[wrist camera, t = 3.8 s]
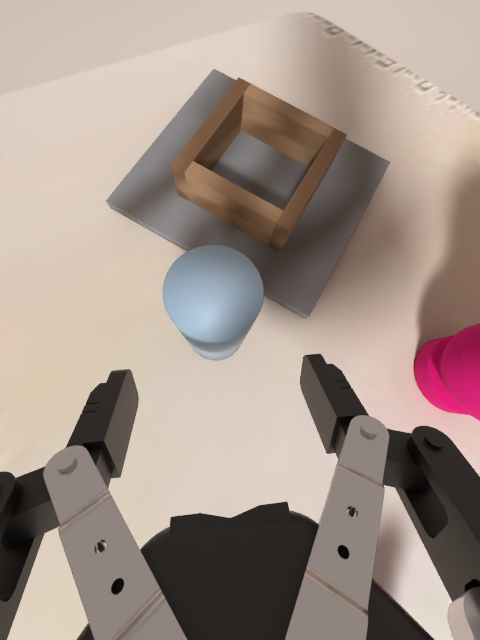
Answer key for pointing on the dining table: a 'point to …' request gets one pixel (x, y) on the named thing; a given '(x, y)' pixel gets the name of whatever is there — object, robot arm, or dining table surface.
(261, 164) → the wooden frame tray
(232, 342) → the post
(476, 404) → the pepper mill
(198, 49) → the dining table surface
